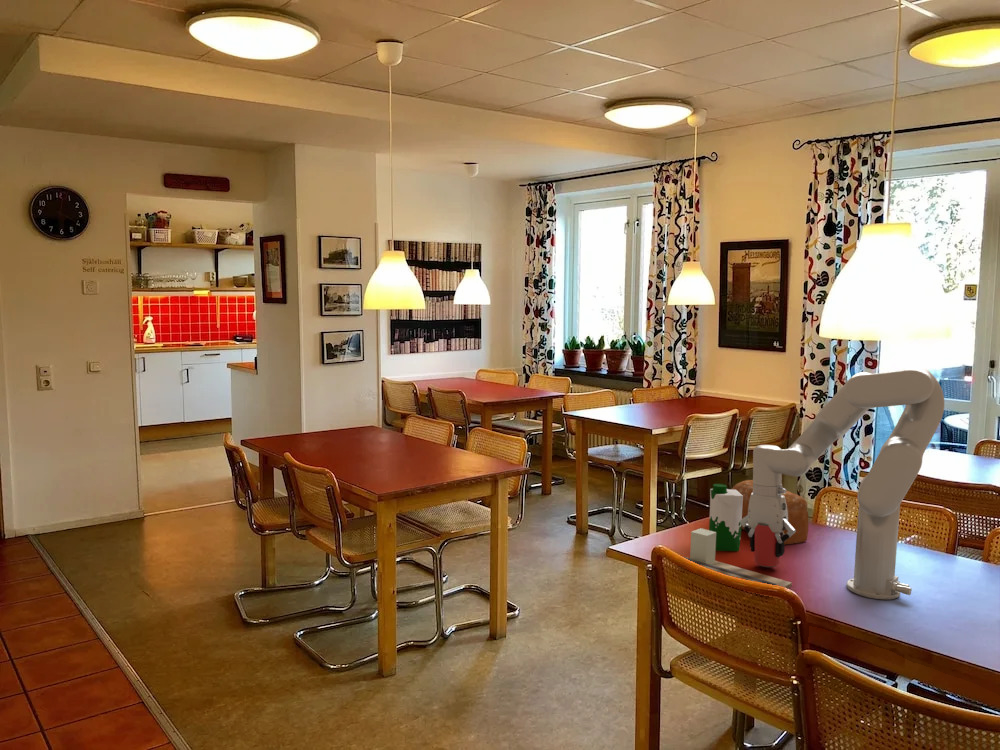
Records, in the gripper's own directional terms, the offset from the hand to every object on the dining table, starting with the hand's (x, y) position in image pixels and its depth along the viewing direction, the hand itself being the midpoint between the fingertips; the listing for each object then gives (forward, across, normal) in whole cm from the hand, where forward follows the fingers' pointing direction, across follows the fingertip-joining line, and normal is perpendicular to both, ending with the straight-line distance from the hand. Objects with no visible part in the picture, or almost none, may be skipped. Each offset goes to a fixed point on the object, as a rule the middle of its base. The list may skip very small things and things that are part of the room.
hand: (766, 552), depth 212 cm
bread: (+5, +18, -35) cm, 39 cm away
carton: (+4, +14, +10) cm, 18 cm away
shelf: (+5, +4, +10) cm, 12 cm away
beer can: (+3, 0, 0) cm, 3 cm away
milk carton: (+5, +17, -8) cm, 20 cm away
